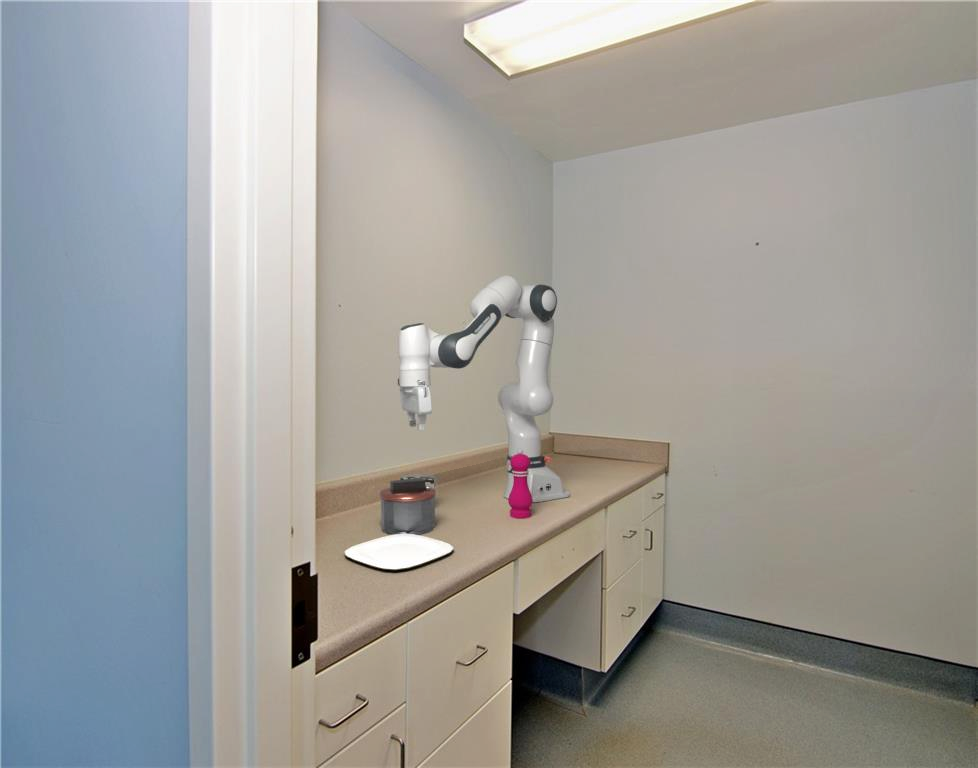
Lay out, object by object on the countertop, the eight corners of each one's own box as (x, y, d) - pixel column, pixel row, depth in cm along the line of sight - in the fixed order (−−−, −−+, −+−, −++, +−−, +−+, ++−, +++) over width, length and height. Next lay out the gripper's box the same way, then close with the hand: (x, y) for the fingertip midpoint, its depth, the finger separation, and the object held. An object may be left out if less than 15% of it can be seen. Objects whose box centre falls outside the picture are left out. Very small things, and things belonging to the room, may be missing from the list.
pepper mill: (515, 511, 170) (515, 446, 170) (536, 514, 166) (536, 448, 166) (503, 516, 164) (503, 449, 163) (525, 520, 160) (525, 451, 160)
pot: (419, 512, 169) (418, 483, 169) (440, 532, 149) (440, 499, 148) (372, 517, 164) (372, 487, 164) (388, 538, 143) (387, 503, 143)
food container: (440, 505, 179) (440, 474, 178) (436, 510, 173) (436, 477, 172) (402, 504, 180) (402, 473, 180) (397, 509, 174) (397, 477, 174)
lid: (427, 488, 162) (426, 473, 162) (442, 499, 148) (442, 483, 148) (375, 492, 156) (375, 477, 156) (386, 504, 142) (386, 488, 142)
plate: (403, 536, 147) (403, 530, 147) (464, 553, 133) (464, 546, 133) (333, 558, 130) (333, 551, 130) (394, 580, 116) (394, 572, 116)
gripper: (436, 380, 151) (438, 430, 152) (416, 378, 170) (418, 423, 171) (413, 381, 149) (415, 432, 149) (396, 379, 168) (398, 425, 168)
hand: (417, 428), depth 160 cm, fingers open, 8 cm apart
